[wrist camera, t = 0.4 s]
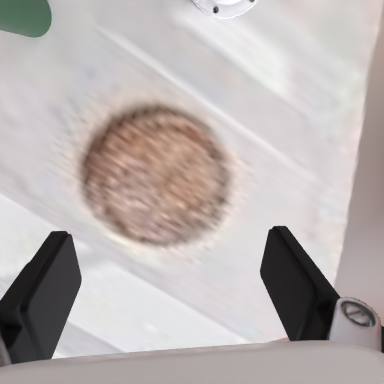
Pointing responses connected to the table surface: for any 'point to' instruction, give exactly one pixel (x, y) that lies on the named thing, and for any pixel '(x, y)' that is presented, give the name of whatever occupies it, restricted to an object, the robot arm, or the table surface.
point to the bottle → (25, 17)
